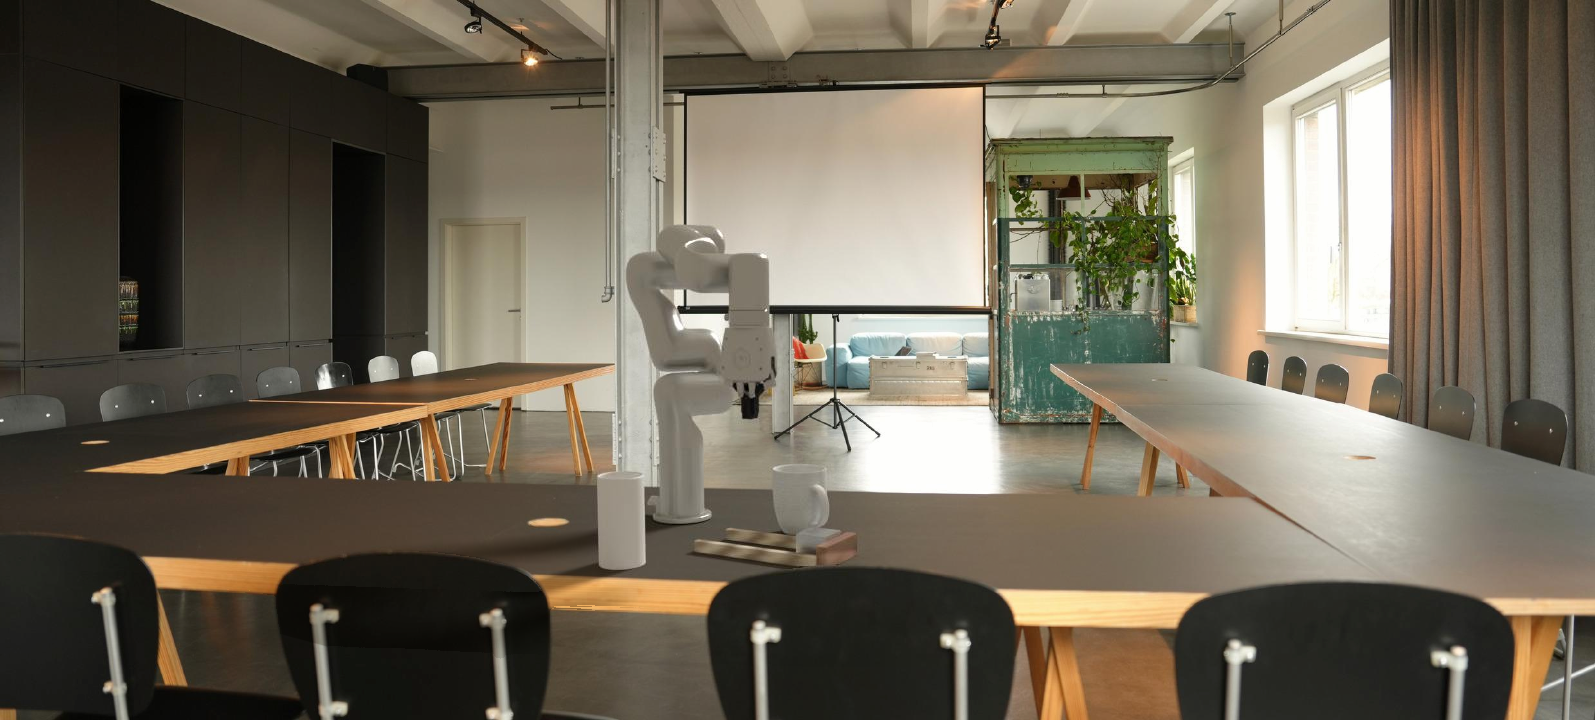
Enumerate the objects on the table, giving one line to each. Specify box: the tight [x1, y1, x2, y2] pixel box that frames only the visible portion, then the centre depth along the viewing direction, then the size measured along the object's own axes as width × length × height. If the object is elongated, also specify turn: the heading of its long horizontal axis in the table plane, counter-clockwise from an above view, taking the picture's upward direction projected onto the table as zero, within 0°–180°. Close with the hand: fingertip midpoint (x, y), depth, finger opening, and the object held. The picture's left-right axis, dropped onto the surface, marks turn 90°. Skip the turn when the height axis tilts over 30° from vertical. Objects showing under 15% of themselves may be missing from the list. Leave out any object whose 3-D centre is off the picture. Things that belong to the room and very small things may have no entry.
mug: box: [772, 463, 830, 536], centre depth 192 cm, size 15×11×13 cm
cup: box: [596, 470, 647, 571], centre depth 171 cm, size 8×8×16 cm
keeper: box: [795, 527, 842, 555], centre depth 173 cm, size 6×6×5 cm
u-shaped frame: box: [693, 527, 858, 568], centre depth 177 cm, size 28×12×4 cm, turn 60°
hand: (750, 418), depth 179 cm, fingers closed
